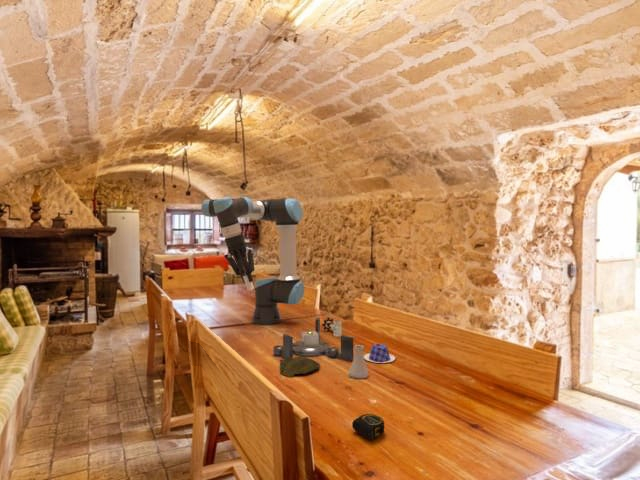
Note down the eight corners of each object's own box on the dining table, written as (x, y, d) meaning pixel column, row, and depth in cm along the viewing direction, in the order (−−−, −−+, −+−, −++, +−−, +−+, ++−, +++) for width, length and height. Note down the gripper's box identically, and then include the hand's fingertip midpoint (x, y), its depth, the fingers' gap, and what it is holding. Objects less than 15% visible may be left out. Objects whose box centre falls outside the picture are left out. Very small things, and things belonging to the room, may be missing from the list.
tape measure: (350, 432, 100) (350, 417, 100) (371, 424, 104) (371, 410, 104) (369, 444, 95) (368, 429, 94) (390, 435, 98) (390, 420, 98)
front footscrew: (271, 354, 160) (271, 331, 160) (280, 352, 163) (280, 330, 162) (286, 361, 151) (286, 338, 151) (296, 359, 154) (296, 336, 153)
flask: (371, 372, 140) (371, 344, 140) (366, 380, 133) (366, 350, 133) (351, 370, 142) (351, 342, 142) (345, 377, 136) (345, 348, 135)
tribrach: (279, 338, 183) (279, 318, 182) (333, 335, 187) (332, 316, 187) (288, 366, 147) (288, 341, 146) (353, 361, 151) (353, 337, 151)
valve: (345, 336, 186) (334, 330, 197) (345, 322, 186) (334, 316, 197) (333, 337, 183) (321, 331, 194) (333, 323, 183) (321, 318, 194)
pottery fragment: (323, 376, 138) (323, 364, 138) (281, 379, 135) (281, 366, 135) (316, 362, 151) (316, 351, 151) (278, 365, 149) (278, 353, 149)
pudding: (401, 360, 153) (402, 347, 153) (378, 367, 146) (378, 352, 146) (380, 352, 163) (380, 339, 163) (357, 358, 156) (357, 344, 156)
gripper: (214, 241, 161) (233, 295, 165) (242, 234, 156) (261, 290, 160) (224, 236, 168) (241, 289, 172) (251, 229, 163) (268, 283, 167)
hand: (250, 289), depth 166 cm, fingers closed
